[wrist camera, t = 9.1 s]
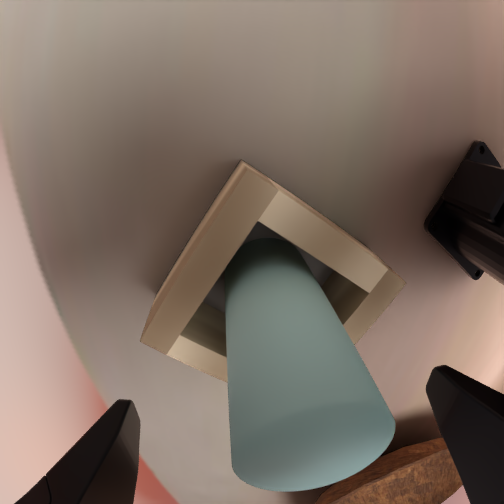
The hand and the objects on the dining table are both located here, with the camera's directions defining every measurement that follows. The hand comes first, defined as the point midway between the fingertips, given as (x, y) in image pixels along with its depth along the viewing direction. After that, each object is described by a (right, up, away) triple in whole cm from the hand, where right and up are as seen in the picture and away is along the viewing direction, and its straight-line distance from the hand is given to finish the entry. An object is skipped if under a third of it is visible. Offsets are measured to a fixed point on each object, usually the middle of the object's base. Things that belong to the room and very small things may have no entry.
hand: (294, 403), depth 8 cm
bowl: (+13, -19, +18) cm, 30 cm away
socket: (-1, +3, +8) cm, 9 cm away
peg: (-1, +3, +8) cm, 8 cm away
